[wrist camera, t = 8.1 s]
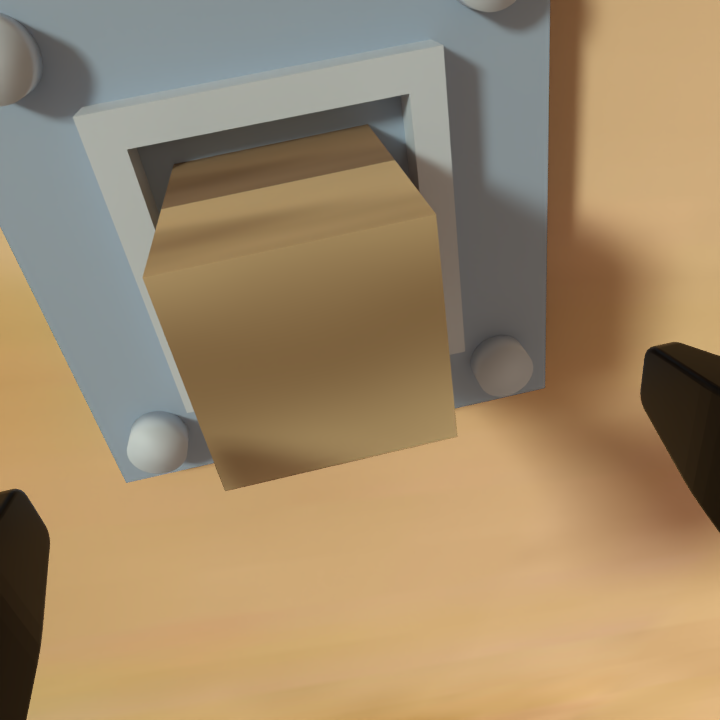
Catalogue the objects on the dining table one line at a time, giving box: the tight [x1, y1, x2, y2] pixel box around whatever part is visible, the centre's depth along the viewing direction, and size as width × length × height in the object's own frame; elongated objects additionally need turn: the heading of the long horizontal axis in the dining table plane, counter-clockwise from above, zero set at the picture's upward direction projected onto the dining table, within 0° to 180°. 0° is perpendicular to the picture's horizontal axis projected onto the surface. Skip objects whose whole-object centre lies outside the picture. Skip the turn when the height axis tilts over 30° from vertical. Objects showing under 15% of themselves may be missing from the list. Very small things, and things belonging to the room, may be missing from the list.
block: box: [142, 124, 457, 491], centre depth 13 cm, size 4×4×6 cm
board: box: [0, 0, 550, 483], centre depth 16 cm, size 13×13×2 cm
